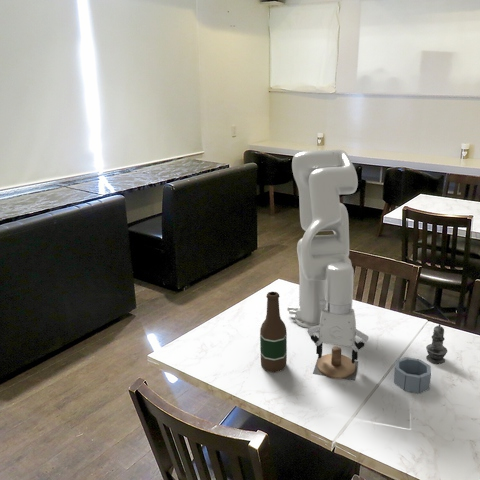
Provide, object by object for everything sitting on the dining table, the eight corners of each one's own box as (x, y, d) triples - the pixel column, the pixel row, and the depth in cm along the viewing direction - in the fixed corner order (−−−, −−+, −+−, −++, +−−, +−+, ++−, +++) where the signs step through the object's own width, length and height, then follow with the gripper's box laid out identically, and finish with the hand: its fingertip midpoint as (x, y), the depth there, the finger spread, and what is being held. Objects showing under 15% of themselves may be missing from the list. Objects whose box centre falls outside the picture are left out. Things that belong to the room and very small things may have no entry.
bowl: (393, 389, 125) (395, 373, 123) (394, 370, 133) (395, 355, 132) (429, 395, 122) (431, 379, 121) (428, 375, 130) (430, 360, 129)
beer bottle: (272, 355, 143) (271, 285, 135) (292, 365, 137) (292, 292, 130) (255, 366, 138) (253, 293, 130) (274, 376, 132) (274, 302, 125)
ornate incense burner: (440, 353, 141) (444, 318, 137) (449, 364, 135) (454, 328, 131) (421, 354, 141) (425, 319, 137) (430, 365, 135) (434, 329, 131)
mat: (312, 374, 133) (312, 373, 133) (318, 356, 142) (318, 355, 142) (354, 381, 129) (355, 380, 129) (358, 362, 138) (358, 361, 138)
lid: (314, 374, 132) (314, 356, 130) (320, 354, 142) (321, 337, 140) (353, 381, 129) (354, 362, 127) (356, 360, 138) (357, 342, 136)
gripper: (305, 307, 128) (304, 360, 133) (369, 315, 123) (366, 370, 128) (310, 296, 135) (309, 347, 140) (371, 303, 129) (368, 356, 134)
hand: (336, 358), depth 134 cm, fingers open, 9 cm apart
